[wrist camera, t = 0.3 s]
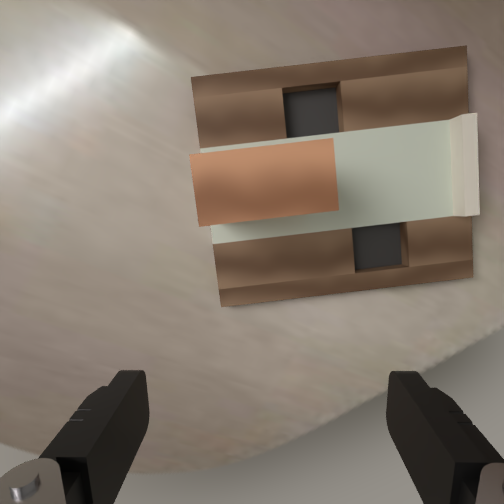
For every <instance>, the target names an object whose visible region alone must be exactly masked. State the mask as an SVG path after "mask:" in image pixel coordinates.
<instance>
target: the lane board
mask: <svg viewBox="0 0 504 504" xmlns="http://www.w3.org/2000/svg"><path fill="white" fill-rule="evenodd" d="M191 82H192V90H193V97H194V105H195V112H196V120H197V128H198V135H199V143H200V150H201V153H207V152H216V151H224V150H233V149H242V148H250V147H259V146H268V145H276V144H285V143H293V142H302V141H311V140H319V139H328V138H333V140H334V153H335V165H336V178H337V190H338V202H339V210H338V211H329V212H321V213H312V214H304V215H295V216H287V217H278V218H270V219H261V220H252V221H244V222H235V223H227V224H218V225H210V226H211V234H212V241H213V249H214V257H215V264H216V272H217V279H218V287H219V295H220V302H221V307H226V306H235V305H243V304H252V303H260V302H268V301H277V300H285V299H294V298H302V297H311V296H319V295H328V294H336V293H345V292H353V291H362V290H370V289H379V288H387V287H395V286H404V285H412V284H421V283H429V282H438V281H446V280H455V279H463V278H472V277H473V250H472V216H474V215H480V207H479V168H478V129H477V113H470V114H469V112H468V77H467V46H459V47H450V48H441V49H432V50H424V51H415V52H406V53H397V54H389V55H380V56H371V57H363V58H354V59H345V60H336V61H328V62H319V63H310V64H302V65H293V66H284V67H275V68H267V69H258V70H249V71H240V72H232V73H223V74H214V75H206V76H197V77H191Z"/></svg>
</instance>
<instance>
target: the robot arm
mask: <svg viewBox="0 0 504 504" xmlns="http://www.w3.org/2000/svg"><path fill="white" fill-rule="evenodd" d="M386 420H387V426H388V430H389V433H390V435H391V438H392V439H393V442H394V443H395V446H396V448H397V450H398V452H399V454H400V456H401V458H402V460H403V462H404V464H405V466H406V468H407V470H408V472H409V474H410V476H411V478H412V481H413V482H414V484H415V486H416V489H417V491H418V493H419V495H420V497H421V499H422V501H423V503H424V504H504V459H503V458H502V457H501V456H500V454H499V453H498V452H497V451H496V450H495V448H494V447H493V446H492V445H491V444H490V443H489V442H488V440H487V439H486V438H485V437H484V435H483V434H482V433H481V432H480V431H479V430H478V428H477V427H476V426H475V425H473V424H472V421H471V420H470V419H469V418H468V417H467V415H466V414H463V411H462V410H461V408H460V407H459V406H458V405H457V404H456V402H455V401H454V400H453V399H452V398H451V397H449V396H448V395H446V394H445V393H443V392H442V391H440V390H439V389H437V388H430V387H429V386H428V385H427V383H426V382H425V381H424V380H423V378H422V377H421V376H420V374H419V373H418V372H416V371H392V372H391V373H390V375H389V384H388V397H387V409H386ZM148 423H149V403H148V393H147V383H146V375H145V372H144V371H143V370H121V371H119V372H118V373H117V374H116V376H115V377H114V378H113V380H112V381H111V383H110V384H109V385H108V386H101V387H100V388H99V389H97V390H96V391H94V392H93V393H92V394H90V395H89V396H87V398H86V399H85V400H84V401H83V403H82V404H81V405H80V406H79V408H78V410H77V411H75V413H74V414H73V415H72V416H71V418H70V420H69V422H67V423H66V424H65V425H64V426H63V428H62V429H61V430H60V432H59V433H58V434H57V435H56V437H55V438H54V439H53V440H52V442H51V443H50V444H49V445H48V447H47V448H46V449H45V450H44V452H43V453H42V454H41V455H40V457H39V458H38V459H34V460H30V461H27V462H24V463H22V464H20V465H18V466H16V467H14V468H13V469H11V470H10V471H8V472H7V473H5V474H4V475H3V476H2V477H1V478H0V504H113V503H114V502H115V499H116V497H117V495H118V492H119V491H120V488H121V486H122V484H123V482H124V480H125V477H126V475H127V473H128V471H129V469H130V466H131V464H132V462H133V460H134V458H135V456H136V453H137V451H138V449H139V447H140V445H141V442H142V440H143V438H144V436H145V434H146V431H147V428H148Z"/></svg>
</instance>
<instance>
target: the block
mask: <svg viewBox="0 0 504 504" xmlns="http://www.w3.org/2000/svg"><path fill="white" fill-rule="evenodd" d="M189 156H190V163H191V170H192V178H193V185H194V192H195V200H196V207H197V214H198V222H199V227H201V226H210V225H218V224H227V223H235V222H244V221H252V220H261V219H270V218H278V217H287V216H295V215H304V214H312V213H321V212H329V211H338V210H339V202H338V190H337V178H336V165H335V153H334V140H333V138H328V139H319V140H311V141H302V142H293V143H285V144H276V145H268V146H259V147H250V148H242V149H233V150H224V151H216V152H207V153H199V154H190V155H189Z"/></svg>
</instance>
